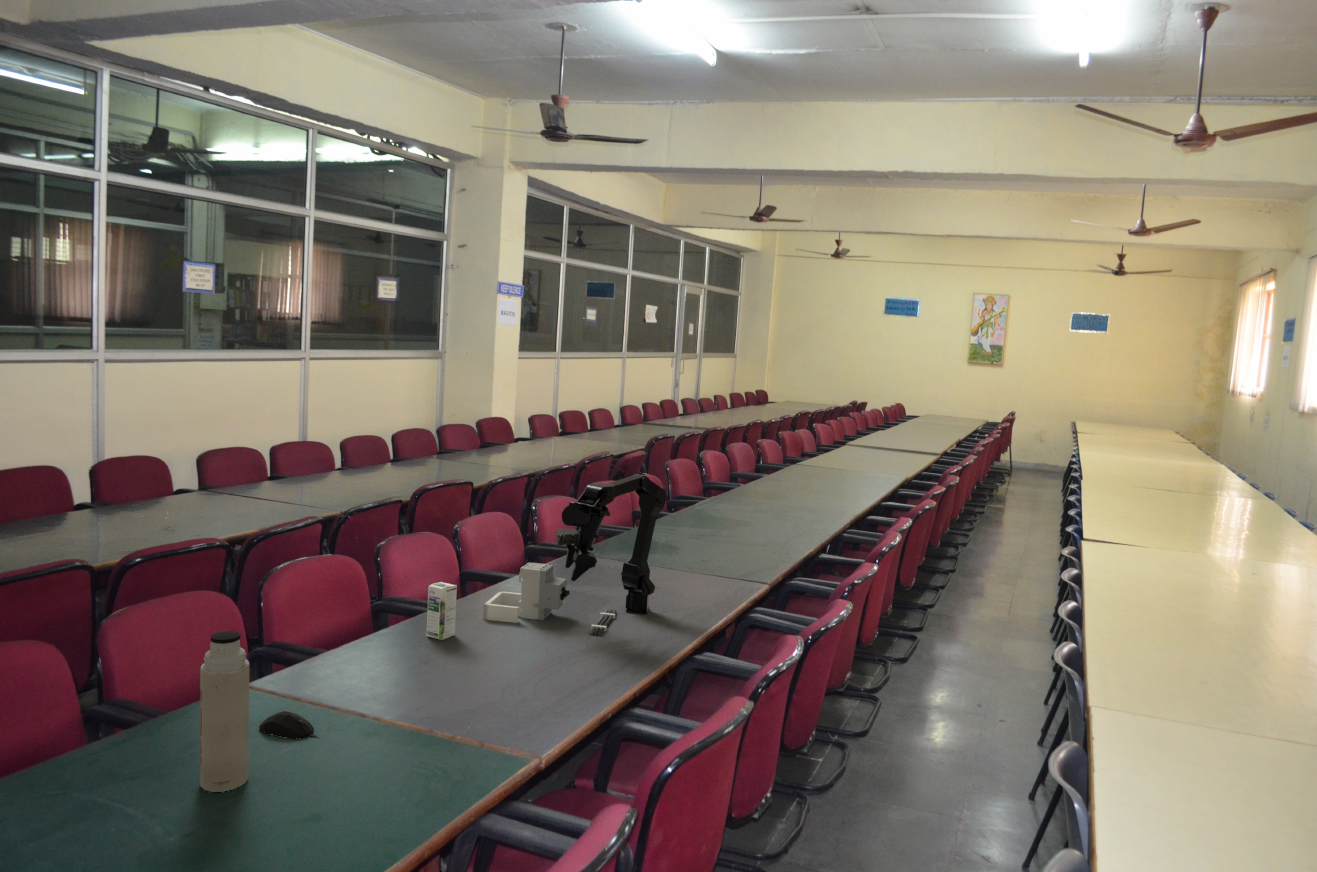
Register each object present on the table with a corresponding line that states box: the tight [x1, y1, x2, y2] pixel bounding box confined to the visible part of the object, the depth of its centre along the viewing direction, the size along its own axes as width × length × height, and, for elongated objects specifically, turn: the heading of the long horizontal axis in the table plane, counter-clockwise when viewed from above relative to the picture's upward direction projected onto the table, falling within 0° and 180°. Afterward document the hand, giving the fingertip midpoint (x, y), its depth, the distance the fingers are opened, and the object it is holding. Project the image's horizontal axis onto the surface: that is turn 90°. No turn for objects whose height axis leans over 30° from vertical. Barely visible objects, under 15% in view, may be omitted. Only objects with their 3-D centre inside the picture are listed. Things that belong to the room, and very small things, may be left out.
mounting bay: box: [482, 590, 521, 624], centre depth 270 cm, size 10×14×4 cm
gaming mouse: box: [258, 710, 320, 740], centre depth 185 cm, size 6×15×4 cm, turn 72°
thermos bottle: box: [199, 630, 250, 791], centre depth 162 cm, size 8×8×28 cm
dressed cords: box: [588, 608, 618, 637], centre depth 266 cm, size 4×22×1 cm, turn 171°
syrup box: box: [425, 581, 458, 641], centre depth 247 cm, size 6×6×14 cm
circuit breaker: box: [518, 561, 570, 621], centre depth 269 cm, size 8×14×15 cm, turn 78°
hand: (569, 574), depth 263 cm, fingers open, 9 cm apart
